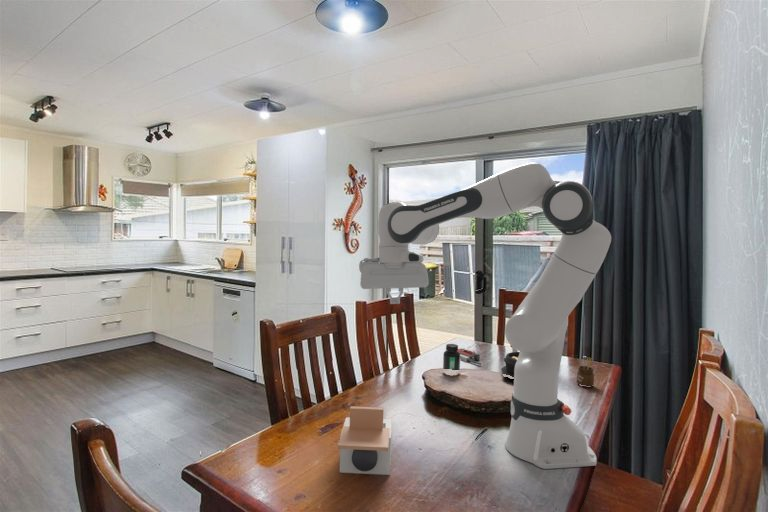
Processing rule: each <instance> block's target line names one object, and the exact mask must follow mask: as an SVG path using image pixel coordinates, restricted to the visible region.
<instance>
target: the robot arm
mask: <svg viewBox="0 0 768 512" xmlns="http://www.w3.org/2000/svg"><path fill="white" fill-rule="evenodd" d="M534 207H536V208H537V207H538V208H540V209H542V212H543V215H544V216H545V218H546V220H548V222H549V223H550V224H551V225H553V226H554V227H555V228H556V229H558V231H559V232H561V233H562V234H561V238H560V241H559V242H558V245H557V246H556V248H555V250H554V252H553V254H552V255H551V257H550V259H549V261H548V262H547V265H546V266H545V268H544V270H543V271H542V273H541V275H539V276H540V277H539V278H538V279H537V282H536V283H535V284H534V286H533V287H532V288H531V289H530V290H529V292H528V293H527V294H526V296H525V297H524V299H523V300H522V301H521V303H520V304H519V306H518V307H517V308H516V310H515V312H514V313H513V314H512V315H511V316H510V317H509V319H508V320H507V322H506V324H505V328H504V335H505V338H506V340H507V342H508V344H509V345H510V346H511V347H512V348H514V349H515V350H517V352H520V353H519V356H518V359H517V362H516V364H515V369H514V380H513V393H512V394H511V402H510V415H511V419H510V425H509V431H508V434H507V437H506V440H505V444H504V446H505V448H506V450H507V451H508V452H509V453H510V454H511V455H512V456H515V457H516V458H518V459H520V460H524V461H525V462H529V463H531V464H533V465H535V466H536V467H538V468H541V469H543V470H549V469H550V470H551V469H563V468H577V467H581V468H582V467H594V466H597V463H598V458H597V455H596V453H595V452H594V450H593V449H592V448H591V447H590V446H589V445H588V442H587V438H586V435H585V433H584V432H583V430H582V429H581V428H580V427H579V426H578V425H577V424H576V423H575V422H574V421H573V420H572V419H571V418H569V417H568V416H570V415H571V414H572V409H571V408H570V407H569V406H568V405H567V404H565V402H563V401H562V400H561V399H559V398H558V393H559V392H558V391H559V373H560V366H561V362H562V358H563V357H562V356H563V352H564V346H565V340H566V333H567V329H568V325H569V319H568V317H569V316H570V315H571V313H572V311H574V309H575V308H576V307H577V305H578V304H579V303H580V302H581V301H582V299H583V297H584V295H585V293H586V292H587V290H588V289H589V287H590V285H591V284H592V282H593V280H594V279H595V277H596V275H597V273H599V271H600V268H601V266H603V265H602V264H603V263H604V260H605V258H606V256H607V253H608V251H609V248H610V245H611V242H612V234H611V232H610V231H609V230H608V228H607V227H606V226H604V225H603V224H601V223H599V222H597V221H596V220H595V219H594V217H593V197H592V195H591V192H590V190H589V189H588V188H587V187H586V186H585V185H583V184H582V183H580V182H577V181H573V180H572V181H571V180H567V181H557V180H553V178H552V177H551V175H550V173H549V171H548V169H547V168H546V167H545V166H544V165H542V164H541V163H538V162H530V163H526V164H522V165H518V166H515V167H511V168H509V169H506V170H503V171H500V172H499V173H496V174H494V175H492V176H489V177H488V178H485V179H483V180H481V181H479V182H477V183H474V184H472V185H470V186H468V187H465V188H462V189H461V190H458V191H455V192H452V193H448V194H446V195H443V196H441V197H438V198H435V199H433V200H431V201H428V202H425V203H422V204H419V205H407V204H405V203H404V202H401V201H392V202H388V203H386V204H383V206H381V208H379V212H378V222H377V223H378V224H377V225H378V227H377V228H378V229H377V230H378V232H377V233H378V237H379V244H378V257H371V258H369V257H364V258H363V259H362V260H360V261H359V264H358V266H359V269H358V270H359V272H360V288H361V289H362V290H364V289H365V290H371V289H373V290H374V289H375V290H376V289H379V290H380V289H385V294H386V295H387V296H388V298H389V305H400V304H401V297H402V296H403V293H404V289H409V288H410V289H412V288H415V289H418V288H427V287H428V286H429V274H428V269H427V266H426V265H425V264H424V256H423V255H422V254H420V253H417V252H414V251H409V244H413V245H421V246H422V245H427V244H431V243H433V242H434V241H435V240H436V238H437V237H438V234H439V233H440V224H443V223H446V222H449V221H451V220H454V219H455V220H456V219H461V218H475V219H476V218H478V219H484V220H491V219H496V218H501V217H505V216H508V215H511V214H514V213H517V212H520V211H521V210H524V209H527V208H534ZM392 289H398V292H399V294H398V296H397V297H392V295H391V292H392Z"/></svg>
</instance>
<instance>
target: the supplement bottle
mask: <svg viewBox="0 0 768 512" xmlns="http://www.w3.org/2000/svg"><path fill="white" fill-rule="evenodd" d="M458 349H459V345H458V344H455V343H447V344H446V346H445V351H444V352H443V359H442V370H443V369H452V370H461V368H460V367H461V360H460V353H459V352H458Z"/></svg>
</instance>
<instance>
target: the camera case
mask: <svg viewBox="0 0 768 512" xmlns="http://www.w3.org/2000/svg"><path fill="white" fill-rule="evenodd" d="M344 426H350V416H348V417H347V416H346V417H345V420H344V423H343V426H342V429H341V431H340V436H341V433H342V430H343V427H344ZM383 428H390V432H389V446H388V451H377V450H355V449H339V473H342V474H343V473H344V474H361V475H362V474H366V475H367V474H368V475H384V476H385V475H386V476H390V475H391V462H392V441H393V440H392V437H393V435H392V431H393V419H392V418H383Z"/></svg>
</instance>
